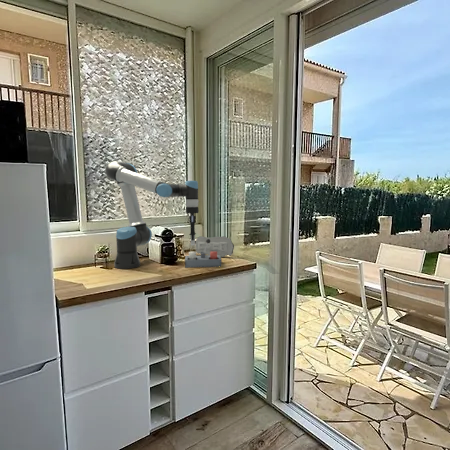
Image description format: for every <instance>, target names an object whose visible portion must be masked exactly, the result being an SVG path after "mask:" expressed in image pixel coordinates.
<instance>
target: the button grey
mask: <svg viewBox="0 0 450 450" xmlns="http://www.w3.org/2000/svg"><path fill="white" fill-rule="evenodd" d="M188 256H189V260H196V256H197V252H196V251H188Z"/></svg>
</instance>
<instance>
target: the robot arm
mask: <svg viewBox="0 0 450 450" xmlns="http://www.w3.org/2000/svg"><path fill="white" fill-rule="evenodd" d="M104 172H105V175H106V177H107V178H109V179H110V180H111V181H115V182H116V183H117V186H118V187H120V190H121V194H122V198H123V202H124V206H125V209H126V214H127V219H128V223H129V224H128V226H123V227H120V228H118V229H117V230H116V233H115V238H116V256H115V259H114V263H113V265H114V268H115V269H118V270H119V269H123V270H124V269H127V270H128V269H135V268H138V267H141V261H140V258H139V257H140V256H139V255H138V247H141V246H144V245H146V244H148V243H149V242H150V241H151V239H152V237H153V235H152V230H151V229H150V227H148V226H147V223H146V222H145V221H144V220H143V215H142V212H141V208H140V203H139V200H138V195H137V190H136V187H138V188H140V189H142V190H145V191H149V192H151V193H154V194H156V195H158V196H159V197H161V198H175V197H176V198H179V197H180V198H181V197H183V198H185V206H186V207H185V214H190V215H189V216H188V219H189V224H190V225H189V226H190V233H189V234H188V235H189V236H190V246H192V247H193V246H196V235H197V233H196V231H195V230H196V229H195V224H196V220H197V219H196V215H195V214H198V213H199V203H200V200H199V182H198V180H185V182H184V183H183V184H182V183H181V184H180V183H178V184H177V183H166V182H164V181H162V180H161V181H160V180H158V179H155V178H153V177H150V176H146V175H144V174H141V173H138V170H137V168H136V166H135V165H134V164H131V163H129V162H122V161H121V162H120V161H115V160H114V161H110V162H109V163H108V164H106V167H105V171H104Z"/></svg>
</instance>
